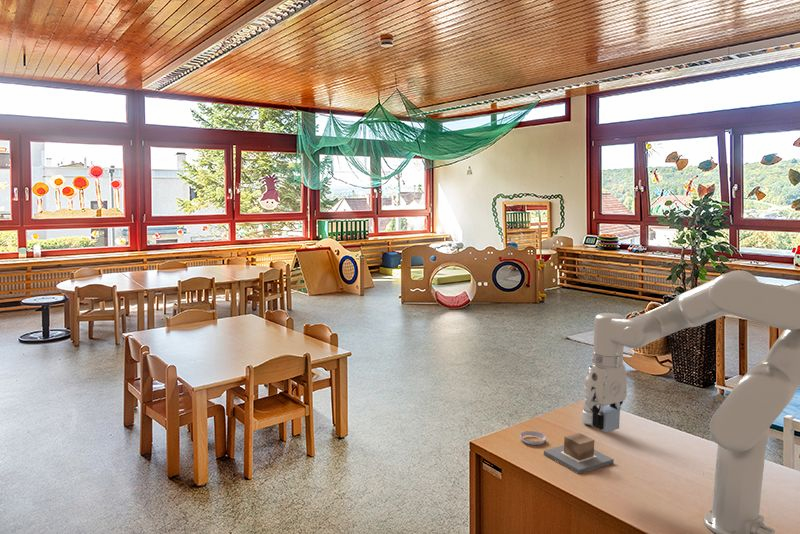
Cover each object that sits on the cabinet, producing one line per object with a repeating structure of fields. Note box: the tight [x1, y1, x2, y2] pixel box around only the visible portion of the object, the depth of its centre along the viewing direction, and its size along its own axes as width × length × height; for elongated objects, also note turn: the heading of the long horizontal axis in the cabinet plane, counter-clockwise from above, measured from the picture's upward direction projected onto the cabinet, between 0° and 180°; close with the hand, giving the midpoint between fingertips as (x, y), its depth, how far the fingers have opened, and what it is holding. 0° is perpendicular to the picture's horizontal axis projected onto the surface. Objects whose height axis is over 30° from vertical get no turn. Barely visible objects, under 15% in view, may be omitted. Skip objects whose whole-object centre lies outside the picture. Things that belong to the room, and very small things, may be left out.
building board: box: [543, 444, 615, 475], centre depth 174 cm, size 14×14×1 cm
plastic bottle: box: [580, 365, 599, 426], centre depth 199 cm, size 6×7×20 cm
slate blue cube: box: [590, 405, 621, 433], centre depth 158 cm, size 5×5×5 cm
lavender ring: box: [520, 430, 547, 446], centre depth 186 cm, size 8×8×2 cm
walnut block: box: [563, 432, 595, 460], centre depth 174 cm, size 6×6×5 cm
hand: (605, 425), depth 158 cm, fingers closed on slate blue cube, 4 cm apart
